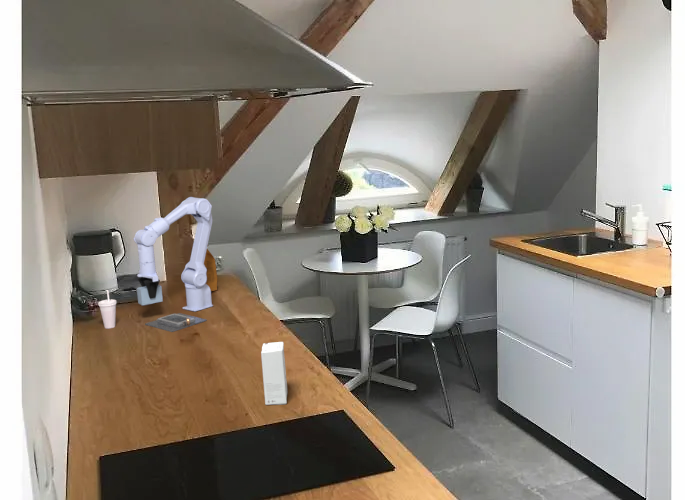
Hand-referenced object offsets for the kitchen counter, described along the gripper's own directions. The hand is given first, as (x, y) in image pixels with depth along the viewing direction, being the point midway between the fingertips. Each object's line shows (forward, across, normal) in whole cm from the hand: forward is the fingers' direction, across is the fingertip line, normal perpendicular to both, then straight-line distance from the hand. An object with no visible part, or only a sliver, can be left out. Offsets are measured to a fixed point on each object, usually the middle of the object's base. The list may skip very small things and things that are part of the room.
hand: (150, 296), depth 262 cm
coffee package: (+9, -26, +35) cm, 45 cm away
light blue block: (+2, 0, 0) cm, 2 cm away
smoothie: (+9, -2, -16) cm, 18 cm away
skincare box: (+9, +95, -3) cm, 96 cm away
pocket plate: (+9, +10, +5) cm, 15 cm away
